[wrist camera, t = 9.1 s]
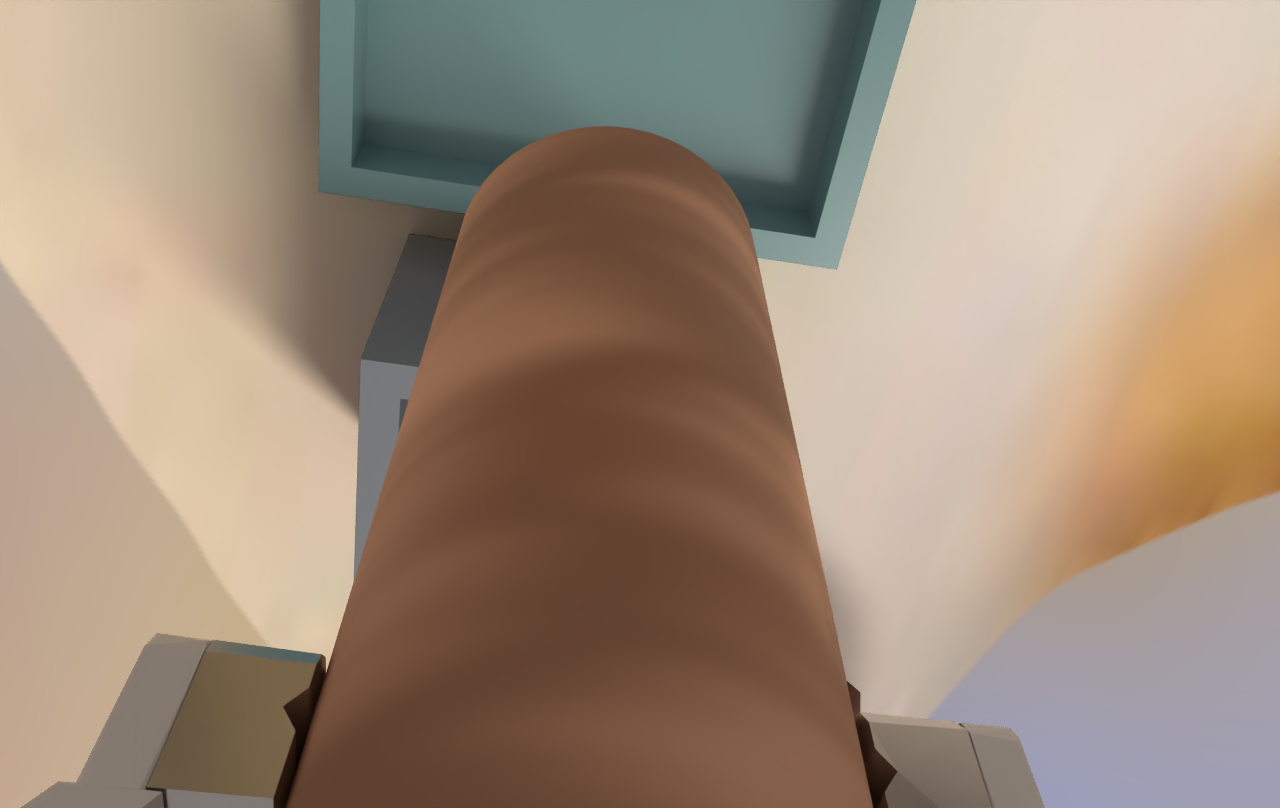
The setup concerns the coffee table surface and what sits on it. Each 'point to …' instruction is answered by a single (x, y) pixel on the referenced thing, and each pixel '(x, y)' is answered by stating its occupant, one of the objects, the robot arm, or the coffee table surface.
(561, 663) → the peg
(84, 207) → the coffee table surface
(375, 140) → the tray
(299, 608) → the coffee table surface
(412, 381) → the grey open square box
